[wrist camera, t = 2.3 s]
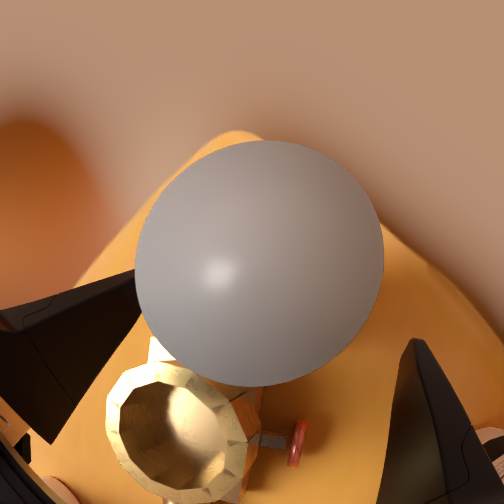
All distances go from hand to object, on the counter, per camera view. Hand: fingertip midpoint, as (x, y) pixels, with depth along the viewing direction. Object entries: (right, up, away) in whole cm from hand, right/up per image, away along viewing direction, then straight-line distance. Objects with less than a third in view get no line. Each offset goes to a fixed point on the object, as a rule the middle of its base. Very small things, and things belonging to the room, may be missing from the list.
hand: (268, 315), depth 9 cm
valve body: (-3, -11, +7) cm, 13 cm away
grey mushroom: (+2, -2, +8) cm, 9 cm away
